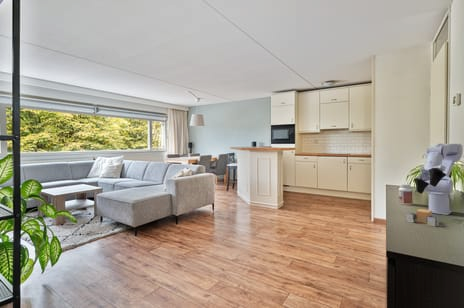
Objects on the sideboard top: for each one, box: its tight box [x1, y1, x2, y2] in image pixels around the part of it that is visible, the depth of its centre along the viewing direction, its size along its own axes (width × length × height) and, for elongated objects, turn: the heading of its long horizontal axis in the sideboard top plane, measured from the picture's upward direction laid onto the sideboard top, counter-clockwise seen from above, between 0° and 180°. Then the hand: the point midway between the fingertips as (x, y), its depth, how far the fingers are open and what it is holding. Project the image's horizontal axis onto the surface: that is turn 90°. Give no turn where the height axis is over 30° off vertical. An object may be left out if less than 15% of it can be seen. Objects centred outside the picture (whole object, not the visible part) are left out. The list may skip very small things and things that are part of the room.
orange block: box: [415, 208, 433, 224], centre depth 101 cm, size 6×4×4 cm
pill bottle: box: [398, 183, 413, 206], centre depth 133 cm, size 6×6×11 cm
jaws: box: [404, 211, 440, 227], centre depth 99 cm, size 4×11×3 cm, turn 38°
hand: (425, 188), depth 103 cm, fingers open, 7 cm apart
